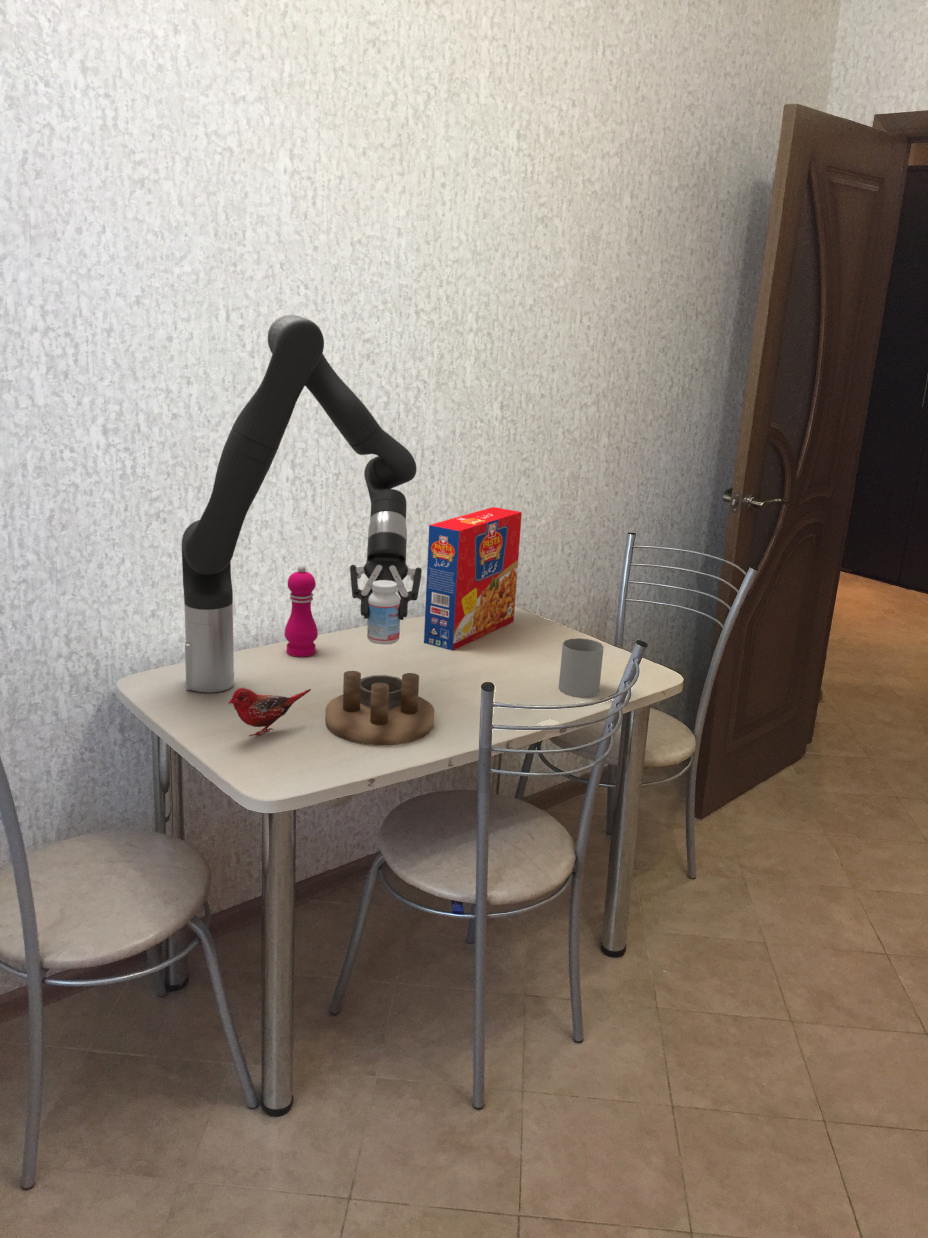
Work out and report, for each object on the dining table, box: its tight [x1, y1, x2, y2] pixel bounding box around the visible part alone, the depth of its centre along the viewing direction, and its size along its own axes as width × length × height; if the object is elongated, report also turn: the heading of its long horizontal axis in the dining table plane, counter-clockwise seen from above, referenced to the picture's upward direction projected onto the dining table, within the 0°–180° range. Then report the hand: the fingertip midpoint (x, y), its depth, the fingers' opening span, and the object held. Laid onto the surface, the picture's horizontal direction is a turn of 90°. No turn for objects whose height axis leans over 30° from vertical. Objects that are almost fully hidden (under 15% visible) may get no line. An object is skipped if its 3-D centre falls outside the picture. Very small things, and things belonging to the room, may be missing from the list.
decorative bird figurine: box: [228, 687, 312, 737], centre depth 184 cm, size 3×18×10 cm, turn 134°
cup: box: [558, 637, 604, 699], centre depth 212 cm, size 8×8×10 cm
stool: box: [324, 670, 436, 746], centre depth 190 cm, size 20×20×10 cm
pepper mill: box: [284, 564, 319, 658], centre depth 222 cm, size 7×7×20 cm
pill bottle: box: [366, 580, 401, 645], centre depth 192 cm, size 6×6×11 cm
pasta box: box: [423, 506, 523, 652], centre depth 241 cm, size 28×8×28 cm, turn 148°
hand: (383, 617), depth 190 cm, fingers closed on pill bottle, 6 cm apart
